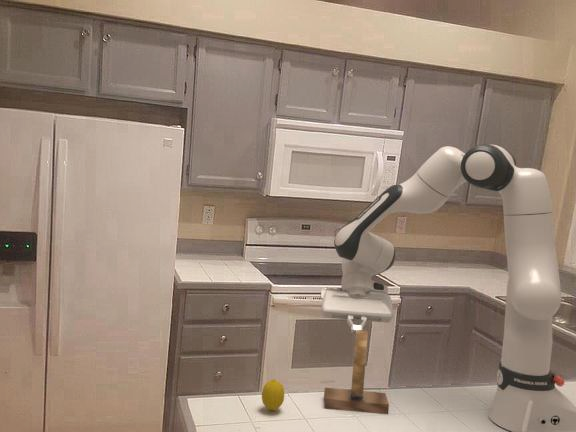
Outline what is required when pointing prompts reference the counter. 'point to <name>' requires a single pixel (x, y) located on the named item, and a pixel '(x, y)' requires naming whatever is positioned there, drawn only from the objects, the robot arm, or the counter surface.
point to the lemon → (273, 394)
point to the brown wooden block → (355, 401)
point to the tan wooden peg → (359, 363)
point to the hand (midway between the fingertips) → (356, 332)
